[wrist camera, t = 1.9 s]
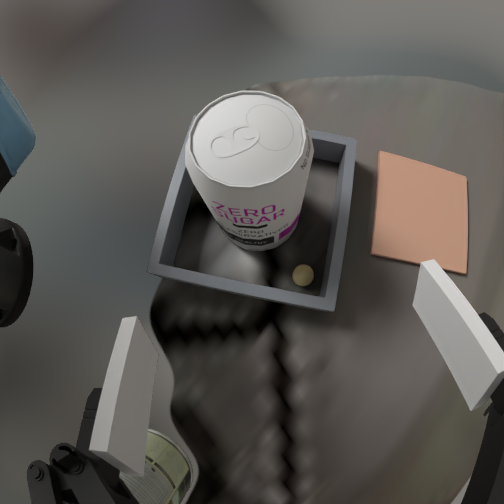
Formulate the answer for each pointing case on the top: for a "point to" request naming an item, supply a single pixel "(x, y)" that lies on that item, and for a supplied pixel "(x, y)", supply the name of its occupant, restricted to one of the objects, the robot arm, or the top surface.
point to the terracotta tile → (420, 213)
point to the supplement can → (251, 166)
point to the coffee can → (161, 472)
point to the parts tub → (325, 149)
